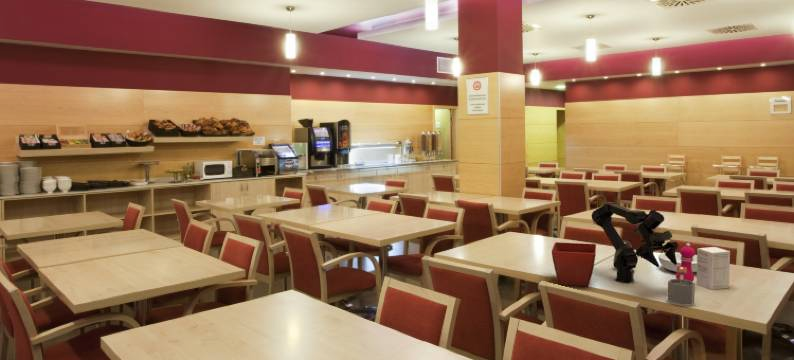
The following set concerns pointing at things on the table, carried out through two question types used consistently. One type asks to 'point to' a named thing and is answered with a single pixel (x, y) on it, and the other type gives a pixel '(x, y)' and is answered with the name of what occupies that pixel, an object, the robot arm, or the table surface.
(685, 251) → the pepper mill
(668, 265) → the serving bowl
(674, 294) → the grey rounded cube
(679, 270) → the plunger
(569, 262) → the plant pot
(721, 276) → the supplement box
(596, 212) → the robot arm
